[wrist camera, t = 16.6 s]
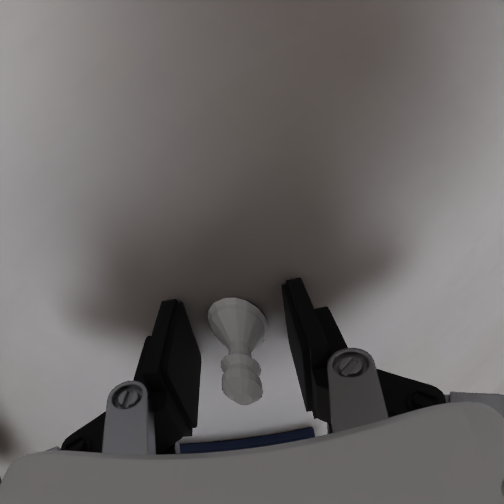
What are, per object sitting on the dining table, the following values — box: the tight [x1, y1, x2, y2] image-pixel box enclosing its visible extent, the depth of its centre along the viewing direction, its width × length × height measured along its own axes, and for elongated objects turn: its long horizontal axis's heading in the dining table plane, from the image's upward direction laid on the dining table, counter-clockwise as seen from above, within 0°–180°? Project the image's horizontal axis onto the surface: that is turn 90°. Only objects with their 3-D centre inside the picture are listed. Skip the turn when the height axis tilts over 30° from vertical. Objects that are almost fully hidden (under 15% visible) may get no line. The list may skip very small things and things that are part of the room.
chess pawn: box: [208, 297, 268, 405], centre depth 10 cm, size 3×2×4 cm
